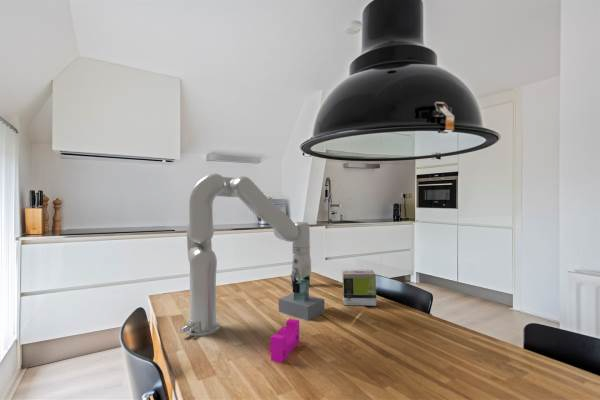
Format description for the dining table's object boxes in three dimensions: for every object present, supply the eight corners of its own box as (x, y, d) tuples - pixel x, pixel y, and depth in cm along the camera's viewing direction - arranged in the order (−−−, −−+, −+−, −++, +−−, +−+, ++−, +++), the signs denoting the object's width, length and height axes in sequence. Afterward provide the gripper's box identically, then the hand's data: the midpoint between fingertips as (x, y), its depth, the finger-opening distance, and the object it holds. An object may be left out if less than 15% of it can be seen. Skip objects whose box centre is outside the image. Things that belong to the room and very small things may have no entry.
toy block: (282, 338, 110) (282, 317, 110) (299, 341, 107) (299, 320, 107) (263, 359, 96) (263, 335, 95) (282, 363, 93) (282, 338, 93)
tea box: (373, 299, 151) (373, 269, 151) (376, 306, 141) (376, 274, 141) (342, 298, 152) (342, 268, 152) (343, 305, 142) (343, 273, 142)
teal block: (304, 301, 131) (304, 283, 131) (293, 299, 133) (293, 281, 133) (308, 298, 136) (309, 280, 136) (298, 296, 138) (298, 278, 138)
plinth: (307, 321, 125) (307, 306, 125) (278, 312, 135) (278, 298, 135) (324, 312, 134) (324, 299, 134) (296, 305, 144) (296, 292, 144)
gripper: (299, 254, 125) (300, 296, 125) (317, 248, 141) (317, 285, 141) (283, 253, 129) (284, 293, 129) (302, 247, 144) (302, 283, 144)
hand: (301, 289), depth 135 cm, fingers open, 9 cm apart
